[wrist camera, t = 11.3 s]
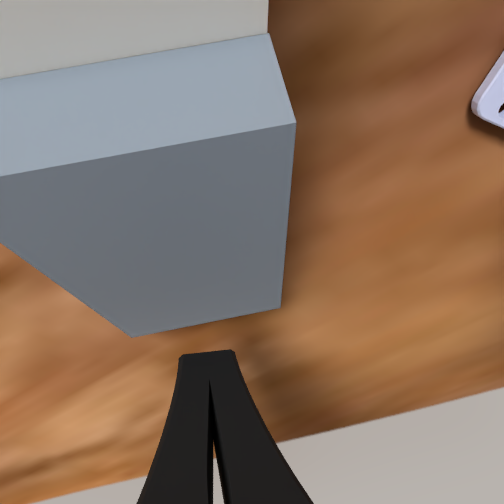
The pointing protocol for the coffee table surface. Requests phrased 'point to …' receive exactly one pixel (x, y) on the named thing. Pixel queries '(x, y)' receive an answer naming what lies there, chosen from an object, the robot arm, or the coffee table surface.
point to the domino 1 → (115, 29)
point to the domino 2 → (153, 182)
